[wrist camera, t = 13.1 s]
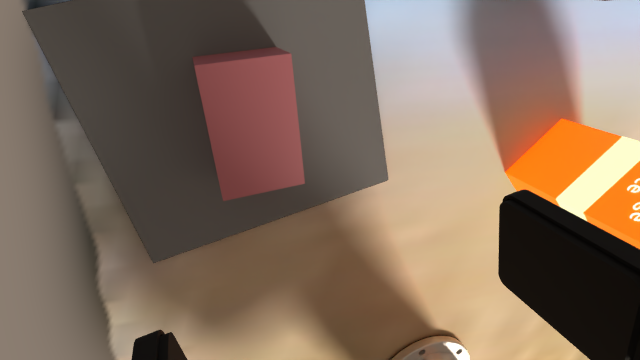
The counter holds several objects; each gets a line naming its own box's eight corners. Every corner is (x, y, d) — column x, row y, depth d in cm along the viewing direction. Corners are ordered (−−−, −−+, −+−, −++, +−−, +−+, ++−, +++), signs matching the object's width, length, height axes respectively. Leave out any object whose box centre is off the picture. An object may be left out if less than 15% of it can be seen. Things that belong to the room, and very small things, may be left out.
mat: (385, 177, 34) (388, 180, 33) (153, 258, 30) (153, 263, 29) (352, -60, 25) (356, -61, 25) (25, 10, 22) (22, 11, 21)
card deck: (276, 46, 26) (291, 53, 23) (290, 162, 30) (304, 183, 26) (192, 57, 25) (194, 65, 21) (217, 177, 28) (223, 201, 25)
